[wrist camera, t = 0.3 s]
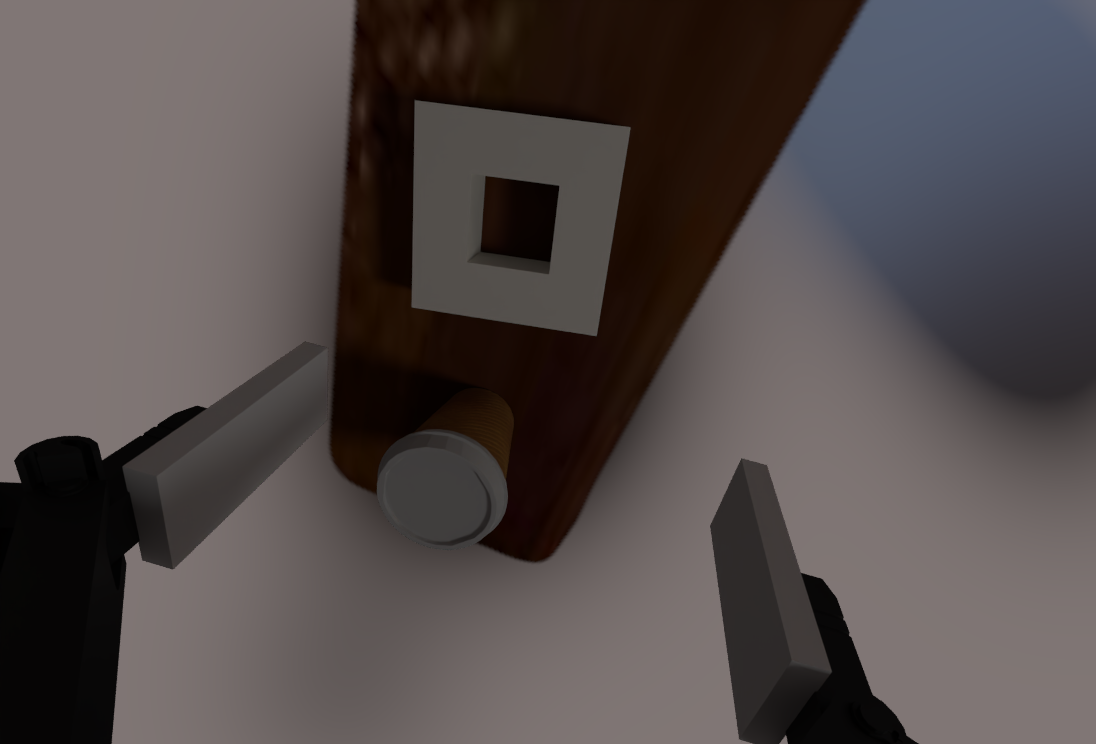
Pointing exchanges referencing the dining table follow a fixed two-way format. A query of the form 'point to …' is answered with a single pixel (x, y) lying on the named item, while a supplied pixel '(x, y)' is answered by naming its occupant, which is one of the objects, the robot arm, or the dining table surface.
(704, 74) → the dining table surface
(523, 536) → the dining table surface
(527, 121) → the hole block
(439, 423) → the disposable coffee cup
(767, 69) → the dining table surface
